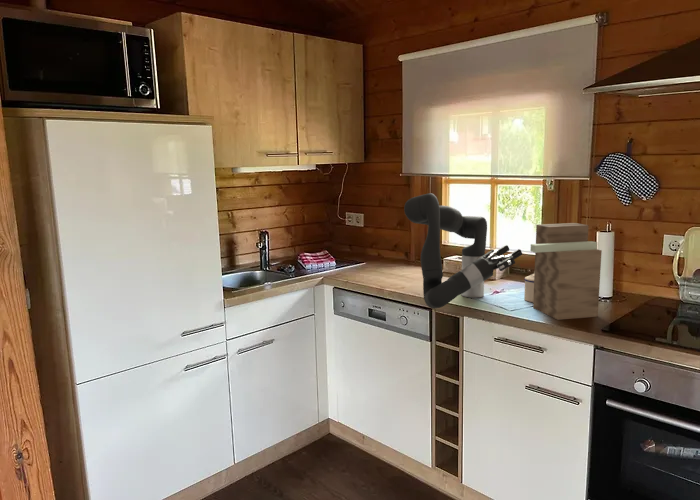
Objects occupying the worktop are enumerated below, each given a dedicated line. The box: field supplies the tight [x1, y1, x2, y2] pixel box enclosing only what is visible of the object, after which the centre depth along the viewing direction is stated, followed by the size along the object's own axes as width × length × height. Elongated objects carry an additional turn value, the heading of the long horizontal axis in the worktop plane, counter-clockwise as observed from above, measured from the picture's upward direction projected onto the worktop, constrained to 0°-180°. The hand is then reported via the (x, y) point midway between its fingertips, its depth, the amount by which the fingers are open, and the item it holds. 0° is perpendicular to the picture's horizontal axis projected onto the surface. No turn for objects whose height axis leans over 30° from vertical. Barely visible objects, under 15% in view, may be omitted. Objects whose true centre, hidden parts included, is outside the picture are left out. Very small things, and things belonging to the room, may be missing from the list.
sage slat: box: [529, 240, 598, 253], centre depth 187 cm, size 3×24×2 cm, turn 101°
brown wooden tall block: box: [532, 222, 603, 320], centre depth 194 cm, size 16×16×32 cm
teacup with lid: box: [523, 271, 535, 303], centre depth 214 cm, size 12×9×12 cm
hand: (514, 249), depth 184 cm, fingers open, 8 cm apart
